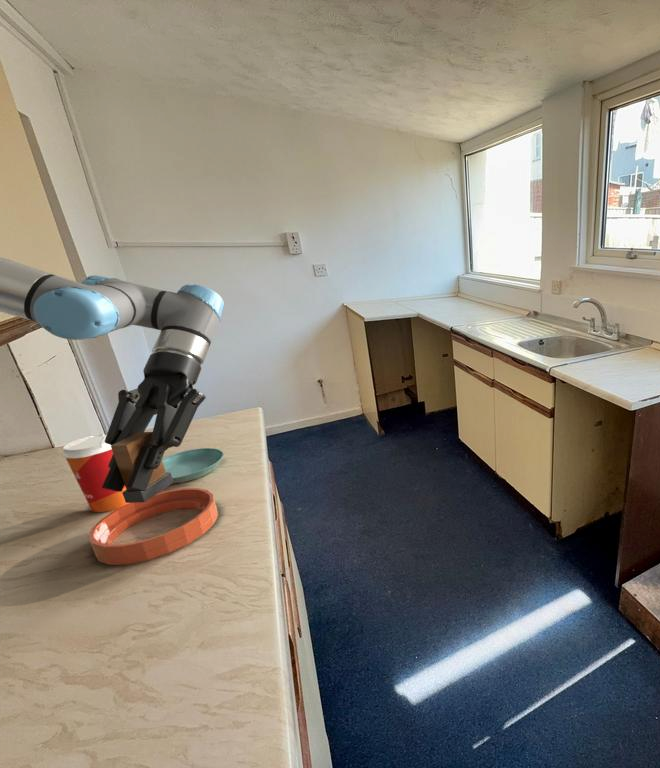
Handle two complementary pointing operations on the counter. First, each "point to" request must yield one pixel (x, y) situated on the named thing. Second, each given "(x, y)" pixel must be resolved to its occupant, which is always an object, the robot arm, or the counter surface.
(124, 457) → the eraser
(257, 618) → the counter surface
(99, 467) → the coffee cup
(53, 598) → the counter surface
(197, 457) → the saucer
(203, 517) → the bowl
